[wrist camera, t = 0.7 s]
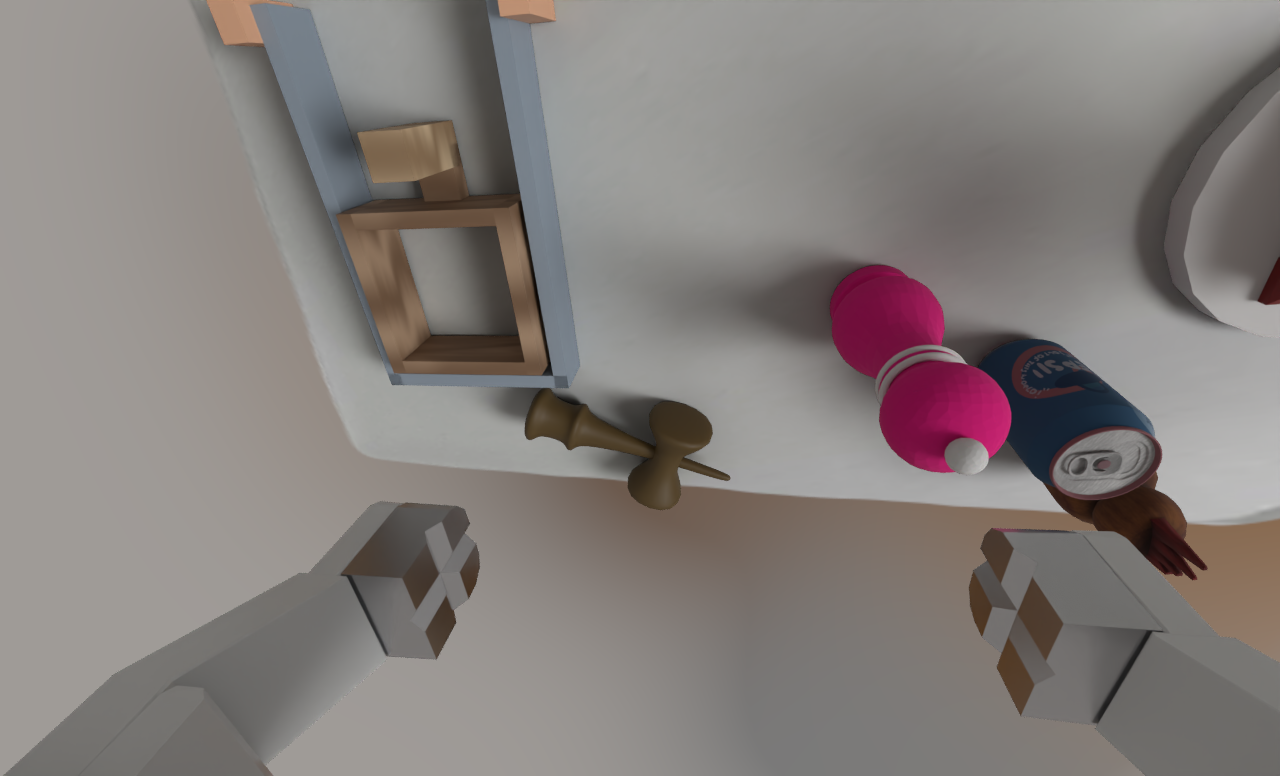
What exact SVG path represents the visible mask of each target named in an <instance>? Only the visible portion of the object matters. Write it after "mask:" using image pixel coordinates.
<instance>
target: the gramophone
mask: <svg viewBox="0 0 1280 776" xmlns="http://www.w3.org/2000/svg"><path fill="white" fill-rule="evenodd" d="M1163 248H1164V251H1165V255H1166V259H1167V263H1168V266H1169V270H1170V274H1171V278H1172V281H1173V284H1174V286H1175V287H1176V288H1177V289H1178V290H1179V291H1180V292H1181V293H1182V294H1183V295H1184V296H1185V297H1186V298H1187V299H1188V300H1189V301H1190V302H1191V303H1192V304H1193V305H1194V306H1195V307H1196V308H1197V309H1198V310H1199V311H1201V312H1203V313H1205V314H1207V315H1209V316H1210V317H1212V318H1214V319H1216V320H1218V321H1221V322H1223V323H1226V324H1229V325H1231V326H1234V327H1236V328H1239V329H1242V330H1244V331H1247V332H1250V333H1252V334H1255V335H1258V336H1260V337H1279V338H1280V67H1279V68H1278V69H1276V70H1275V71H1274V72H1273V73H1271V74H1270V75H1269V76H1268V77H1266V78H1265V79H1264V80H1263V81H1261V82H1260V83H1259V84H1258V85H1256V86H1255V87H1254V88H1253V89H1251V90H1250V91H1249V92H1247V94H1246V95H1245V96H1244V97H1243V98H1242V99H1241V101H1240V102H1239V103H1238V104H1237V105H1236V106H1235V108H1234V109H1233V110H1232V111H1231V112H1230V113H1229V114H1228V116H1227V117H1226V118H1225V119H1224V120H1223V121H1222V123H1221V124H1220V125H1219V126H1218V127H1217V128H1216V130H1215V131H1214V132H1213V133H1212V134H1211V135H1210V136H1209V138H1208V139H1207V140H1206V141H1205V142H1204V143H1203V145H1202V146H1201V147H1200V148H1199V150H1198V152H1197V154H1196V156H1195V157H1194V159H1193V161H1192V163H1191V165H1190V167H1189V169H1188V171H1187V173H1186V175H1185V176H1184V178H1183V180H1182V182H1181V184H1180V186H1179V188H1178V190H1177V192H1176V194H1175V195H1174V197H1173V199H1172V201H1171V207H1170V213H1169V218H1168V224H1167V230H1166V235H1165V241H1164V247H1163Z"/></svg>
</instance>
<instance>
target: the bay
mask: <svg viewBox="0 0 1280 776" xmlns="http://www.w3.org/2000/svg"><path fill="white" fill-rule="evenodd" d="M206 1H207V3H208V6H209V8H210V11H211V13H212V16H213V18H214V20H215V23H216V25H217V28H218V30H219V33H220V35H221V37H222V40H223V42H224V45H236V46H255V47H265V48H266V51H267V54H268V56H269V59H270V62H271V64H272V67H273V70H274V72H275V75H276V78H277V80H278V83H279V86H280V88H281V91H282V94H283V96H284V99H285V102H286V104H287V107H288V110H289V112H290V115H291V118H292V120H293V123H294V126H295V128H296V131H297V134H298V136H299V139H300V142H301V144H302V147H303V150H304V152H305V155H306V158H307V160H308V163H309V166H310V168H311V171H312V174H313V176H314V179H315V182H316V184H317V187H318V189H319V192H320V195H321V197H322V200H323V203H324V205H325V208H326V211H327V213H328V216H329V219H330V221H331V224H332V227H333V229H334V232H335V235H336V237H337V240H338V243H339V245H340V248H341V251H342V253H343V256H344V259H345V261H346V264H347V267H348V269H349V272H350V275H351V277H352V280H353V283H354V285H355V288H356V291H357V293H358V296H359V299H360V301H361V304H362V307H363V309H364V312H365V315H366V317H367V320H368V323H369V325H370V328H371V331H372V333H373V336H374V339H375V341H376V344H377V347H378V349H379V352H380V355H381V357H382V360H383V363H384V365H385V368H386V371H387V373H388V376H389V379H390V381H391V384H392V385H425V386H478V387H531V388H569V387H570V385H571V383H572V381H573V379H574V377H575V375H576V373H577V371H578V369H579V367H580V362H579V355H578V348H577V342H576V335H575V328H574V321H573V314H572V308H571V301H570V294H569V287H568V280H567V274H566V267H565V260H564V253H563V246H562V240H561V233H560V226H559V219H558V212H557V206H556V199H555V192H554V185H553V178H552V172H551V165H550V158H549V151H548V145H547V138H546V131H545V124H544V117H543V111H542V104H541V97H540V90H539V83H538V77H537V70H536V63H535V56H534V49H533V43H532V36H531V29H530V23H540V22H550V21H556V19H555V11H554V3H553V0H485V1H486V6H487V12H488V17H489V23H490V28H491V34H492V39H493V45H494V50H495V56H496V61H497V67H498V73H499V78H500V84H501V89H502V95H503V100H504V106H505V111H506V117H507V122H508V128H509V133H510V139H511V145H512V150H513V156H514V161H515V167H516V172H517V178H518V183H519V189H520V194H521V200H522V205H523V211H524V217H525V222H526V228H527V233H528V239H529V244H530V250H531V255H532V261H533V266H534V272H535V277H536V283H537V289H538V294H539V300H540V305H541V311H542V316H543V322H544V327H545V333H546V338H547V344H548V349H549V355H550V360H551V361H550V362H549V364H548V366H547V367H546V369H545V371H544V372H543V374H542V375H475V374H408V373H394V372H393V369H392V366H391V364H390V361H389V358H388V356H387V353H386V350H385V347H384V345H383V342H382V339H381V337H380V334H379V331H378V328H377V326H376V323H375V320H374V318H373V315H372V312H371V309H370V307H369V304H368V301H367V299H366V296H365V293H364V290H363V288H362V285H361V282H360V280H359V277H358V274H357V271H356V269H355V266H354V263H353V260H352V258H351V255H350V252H349V250H348V247H347V244H346V241H345V239H344V236H343V233H342V231H341V228H340V225H339V222H338V220H337V217H336V214H339V213H342V212H344V211H347V210H350V209H352V208H355V207H358V206H361V205H363V204H366V203H369V202H372V198H371V195H370V192H369V189H368V186H367V183H366V180H365V177H364V174H363V171H362V168H361V165H360V162H359V158H358V155H357V152H356V149H355V146H354V143H353V140H352V137H351V134H350V131H349V128H348V125H347V122H346V119H345V116H344V113H343V110H342V106H341V103H340V100H339V97H338V94H337V91H336V88H335V85H334V82H333V79H332V76H331V73H330V70H329V67H328V64H327V61H326V58H325V54H324V51H323V48H322V45H321V42H320V39H319V36H318V33H317V30H316V27H315V24H314V21H313V18H312V15H311V12H310V10H309V9H302V8H296V7H293V5H292V4H288V3H281V2H275V1H268V0H206Z"/></svg>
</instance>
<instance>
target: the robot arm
mask: <svg viewBox="0 0 1280 776" xmlns="http://www.w3.org/2000/svg"><path fill="white" fill-rule="evenodd" d="M469 525H470V522H469V520H468V517H467V514H466V511H465V509H463V508H461V507H458V506H449V505H433V504H418V503H395V502H394V503H393V502H381V501H380V502H377V503H375V504H373V505H370V506H369V507H368V508H367V510H366V511H365V512H364V513H363V514H362V515H361V516H360V517H359V518H358V519H357V520H356V522H355V523H354V524H353V525H352V526H351V527H350V528H349V529H348V530H347V532H345V534H344V535H343V536H342V537H341V538H340V539H339V540H338V541H337V542H336V543H335V544H334V546H333V547H332V548H331V549H330V550H329V551H328V552H327V553H326V554H325V555H324V557H323V558H322V559H321V560H320V561H319V562H318V563H317V564H316V565H315V566H314V567H313V569H312V570H311V571H310V572H309V573H299V574H297V575H295V576H293V577H291V578H289V579H288V580H286V581H284V582H282V583H280V584H278V585H277V586H275V587H273V588H271V589H269V590H267V591H266V592H264V593H262V594H260V595H258V596H256V597H255V598H253V599H251V600H249V601H248V602H245V603H244V604H242V605H240V606H238V607H236V608H234V609H233V610H231V611H229V612H227V613H225V614H223V615H222V616H220V617H218V618H216V619H214V620H212V621H211V622H209V623H207V624H205V625H203V626H201V627H200V628H198V629H196V630H194V631H192V632H190V633H189V634H187V635H185V636H183V637H181V638H179V639H178V640H176V641H174V642H172V643H170V644H168V645H167V646H165V647H163V648H161V649H159V650H157V651H156V652H154V653H152V654H150V655H148V656H146V657H145V658H143V659H141V660H139V661H137V662H135V663H134V664H132V665H130V666H128V667H126V668H125V669H123V670H121V671H119V672H117V673H115V674H114V675H112V676H111V677H110V678H109V679H108V680H107V681H106V682H105V683H104V684H103V685H102V686H101V687H99V688H98V689H97V690H96V691H95V692H94V693H93V694H92V695H91V696H90V697H88V698H87V699H86V700H85V701H84V702H83V703H82V704H81V705H80V706H79V707H78V708H77V709H76V710H74V711H73V712H72V713H71V714H70V715H69V716H68V717H67V718H66V719H64V721H62V722H61V723H60V724H59V725H58V726H57V727H56V728H55V729H54V730H53V731H51V732H50V733H49V734H48V735H47V736H46V737H45V738H44V739H43V740H42V741H40V742H39V743H38V744H37V745H36V746H35V747H34V748H33V749H32V750H31V751H30V752H29V753H27V754H26V755H25V756H24V757H23V758H22V759H21V760H20V761H19V762H18V763H17V764H15V766H13V767H12V768H11V769H10V770H9V771H8V772H7V773H6V774H4V775H3V776H273V775H272V773H271V772H270V771H269V770H268V768H267V767H266V766H265V765H267V764H268V763H269V762H270V761H271V760H272V759H273V758H274V757H276V756H277V755H278V754H279V753H280V752H281V751H283V750H284V749H285V748H286V747H287V746H288V745H290V744H291V743H292V742H293V741H294V740H295V739H296V738H298V737H299V736H300V735H301V734H302V733H303V732H304V731H306V730H307V729H308V728H309V727H310V726H311V725H312V724H314V723H315V722H316V721H317V720H318V719H319V718H321V717H322V716H323V715H324V714H325V713H326V712H327V711H328V710H330V709H331V708H332V707H333V706H334V705H336V704H337V703H338V702H339V701H340V700H341V699H342V698H344V696H346V695H347V694H348V693H349V692H351V691H352V690H353V689H354V688H355V687H356V686H357V685H359V684H360V683H361V682H362V681H363V680H364V679H365V678H367V677H368V676H369V675H370V674H371V673H372V672H374V671H375V670H376V669H377V668H378V667H379V666H380V665H382V664H383V663H384V662H385V661H386V660H387V657H386V656H391V657H405V658H421V659H437V658H438V656H439V654H440V652H441V650H442V648H443V646H444V644H445V642H446V641H447V639H448V637H449V635H450V633H451V632H452V630H453V628H454V626H455V624H456V618H455V613H454V610H455V609H456V608H457V607H458V606H460V605H461V604H463V603H464V602H465V601H467V600H468V599H469V597H470V595H471V593H472V591H473V589H474V587H475V585H476V582H477V578H478V573H479V569H480V559H479V551H478V548H477V545H476V543H475V542H474V541H473V540H472V539H471V538H470V537H469V536H467V535H466V534H465V532H466V530H467V528H468V526H469ZM980 549H981V550H982V552H983V554H984V555H985V557H986V559H987V561H986V562H985V563H983V564H982V565H980V566H979V567H977V568H976V569H975V570H973V574H972V577H971V581H970V585H969V596H970V608H971V611H972V615H973V618H974V621H975V624H976V626H977V628H978V630H979V632H980V634H981V636H982V638H983V639H984V640H986V641H987V642H988V643H989V644H991V645H992V646H993V647H995V648H996V649H997V650H998V651H999V652H1001V656H1000V659H999V662H998V664H997V669H998V671H999V673H1000V675H1001V677H1002V679H1003V681H1004V684H1005V686H1006V688H1007V690H1008V692H1009V694H1010V696H1011V698H1012V700H1013V702H1014V704H1015V706H1016V708H1017V710H1018V712H1019V714H1020V716H1023V717H1031V718H1039V719H1047V720H1055V721H1063V722H1072V723H1079V724H1088V725H1096V728H1095V729H1096V730H1097V731H1098V732H1099V733H1100V734H1101V735H1102V736H1103V737H1104V738H1105V739H1106V740H1108V741H1109V742H1110V743H1111V744H1112V745H1113V746H1114V747H1115V748H1116V749H1117V750H1118V751H1119V752H1121V754H1123V755H1124V756H1125V757H1126V758H1127V759H1128V760H1129V761H1130V762H1131V763H1132V764H1133V765H1135V766H1136V767H1137V768H1138V769H1139V770H1140V771H1141V772H1142V773H1143V774H1144V775H1145V776H1280V663H1279V662H1278V661H1276V660H1274V659H1272V658H1270V657H1269V656H1267V655H1265V654H1263V653H1261V652H1260V651H1258V650H1256V649H1254V648H1252V647H1251V646H1249V645H1247V644H1245V643H1244V642H1242V641H1240V640H1238V639H1236V638H1229V637H1220V636H1219V635H1218V634H1217V633H1216V632H1215V631H1214V630H1213V629H1212V628H1211V627H1210V626H1209V625H1208V624H1207V623H1206V621H1205V620H1204V619H1203V618H1202V617H1201V616H1200V615H1199V614H1198V613H1197V612H1196V611H1195V610H1194V609H1193V608H1192V607H1191V606H1190V605H1189V603H1188V602H1187V601H1186V600H1185V599H1184V598H1183V597H1182V596H1181V595H1180V594H1179V593H1178V592H1177V591H1176V590H1175V589H1174V588H1173V587H1172V585H1170V583H1169V582H1168V581H1167V580H1166V579H1165V578H1164V577H1163V576H1162V575H1161V574H1160V573H1159V572H1158V571H1157V570H1156V569H1155V568H1154V567H1153V566H1152V564H1151V563H1150V562H1149V561H1148V560H1147V559H1146V558H1145V557H1144V556H1143V555H1142V554H1141V553H1140V552H1139V551H1138V550H1137V549H1136V547H1135V546H1134V545H1133V544H1132V543H1131V542H1130V541H1129V540H1128V539H1127V538H1125V537H1124V536H1122V535H1120V534H1118V533H1116V532H1111V531H1073V530H1072V531H1059V530H1031V529H1001V528H1000V529H999V528H991V529H990V530H989V531H988V532H987V533H986V534H985V536H984V539H983V542H982V545H981V548H980Z"/></svg>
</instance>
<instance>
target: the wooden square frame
mask: <svg viewBox="0 0 1280 776" xmlns="http://www.w3.org/2000/svg"><path fill="white" fill-rule="evenodd" d="M357 134H358V137H359V140H360V143H361V147H362V150H363V153H364V156H365V159H366V162H367V165H368V168H369V172H370V175H371V178H372V181H373V183H386V182H406V181H417V180H419V182H420V186H421V189H422V193H423V197H424V198H412V199H389V200H374V201H372V202H369V203H366V204H363V205H361V206H358V207H355V208H352V209H350V210H347V211H344V212H342V213H339V214H336V217H337V220H338V222H339V225H340V228H341V231H342V233H343V236H344V239H345V241H346V244H347V247H348V250H349V252H350V255H351V258H352V260H353V263H354V266H355V269H356V271H357V274H358V277H359V280H360V282H361V285H362V288H363V290H364V293H365V296H366V299H367V301H368V304H369V307H370V309H371V312H372V315H373V318H374V320H375V323H376V326H377V328H378V331H379V334H380V337H381V339H382V342H383V345H384V347H385V350H386V353H387V356H388V358H389V361H390V364H391V366H392V369H393V372H394V373H408V374H475V375H542V374H543V372H544V371H545V369H546V367H547V366H548V364H549V362H550V361H551V360H550V355H549V349H548V344H547V338H546V333H545V327H544V322H543V316H542V311H541V305H540V300H539V294H538V289H537V283H536V277H535V272H534V266H533V261H532V255H531V250H530V244H529V239H528V233H527V228H526V222H525V217H524V211H523V205H522V200H521V194H502V195H479V196H469V192H468V188H467V184H466V179H465V175H464V171H463V166H462V162H461V158H460V153H459V149H458V145H457V140H456V136H455V132H454V127H453V123H452V120H450V121H436V122H422V123H412V124H405V125H399V126H393V127H387V128H381V129H375V130H369V131H363V132H357ZM481 226H496V227H497V232H498V237H499V242H500V246H501V251H502V256H503V261H504V265H505V270H506V275H507V280H508V284H509V289H510V294H511V299H512V303H513V308H514V313H515V318H516V322H517V327H518V332H519V336H431V334H430V331H429V328H428V324H427V321H426V318H425V315H424V312H423V308H422V305H421V302H420V299H419V295H418V292H417V289H416V286H415V283H414V279H413V276H412V273H411V270H410V266H409V263H408V260H407V257H406V254H405V250H404V247H403V244H402V241H401V237H400V234H399V231H398V229H422V228H452V227H481Z"/></svg>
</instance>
